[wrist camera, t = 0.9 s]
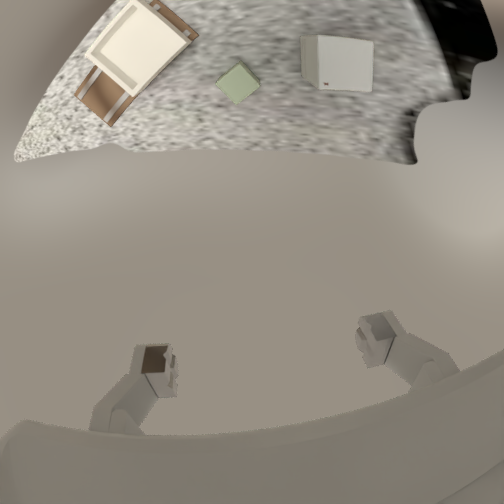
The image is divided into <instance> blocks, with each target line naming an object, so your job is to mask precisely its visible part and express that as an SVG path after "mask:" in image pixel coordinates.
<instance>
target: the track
mask: <svg viewBox="0 0 504 504" xmlns="http://www.w3.org/2000/svg"><path fill="white" fill-rule="evenodd" d="M149 5H150V6H151V7H153V8H154V9H155V10H156V11H157V12H159V13H160V14H161V15H162V16H163V17H165V18H166V19H167V20H168V21H169V22H170V23H172V24H173V25H174V26H175V27H176V28H177V29H178V30H180V31H181V32H182V33H183V34H184V35H185V36H186V37H187V38H189V39H190V40H191V41H193V40H194V39H195V38H196V37H197V36H199V35H198V34H197V33H196V32H195V31H194V30H193V29H192V28H191V27H189V26H188V25H187V24H186V23H185V22H184V21H183V20H182V19H180V18H179V17H178V16H177V15H176V14H175V13H173V12H172V11H171V10H170V9H169V8H167V7H166V6H165V5H164V4H163V3H161V2H160V1H159V0H153V1H152V2H151V3H150V4H149ZM74 95H75V96H76V97H77V98H78V99H79V100H80V101H81V102H83V103H84V104H85V105H86V106H87V107H88V108H89V109H91V110H92V111H93V112H94V113H95V114H96V115H97V116H99V117H100V118H101V119H102V120H103V121H104V122H105V123H107V124H108V125H109V126H110V127H111V126H112V125H113V124H114V123H115V121H116V120H117V119H118V118H119V117H120V115H121V114H122V113H123V112H124V111H125V109H126V108H127V107H128V106H129V105H130V103H131V102H132V101H133V100H134V99H135V98H136V97H137V96H138V94H137V95H136V96H134V97H132V96H131V95H130V94H129V93H127V92H126V91H125V90H124V89H123V88H122V87H121V86H120V85H118V84H117V83H116V82H115V81H114V80H113V79H111V78H110V77H109V76H108V75H107V74H106V73H105V72H103V71H102V70H101V69H100V68H99V67H98V66H96V65H95V66H94V67H93V69H92V70H91V71H90V73H89V74H88V75H87V77H86V78H85V79H84V81H83V82H82V84H81V85H80V87H79V88H78V89H77V91H76V92H75V94H74Z"/></svg>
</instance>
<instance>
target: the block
mask: <svg viewBox="0 0 504 504" xmlns="http://www.w3.org/2000/svg"><path fill="white" fill-rule="evenodd" d="M215 84H216V85H217V86H218V87H219V88H220V89H221V90H222V91H223V92H224V93H225V94H226V95H227V96H228V97H229V98H230V99H231V101H232V102H233V103H234V104H235V105H237V104H239V103H240V102H241V101H242V100H244V99H245V98H246V97H247V96H249V95H250V94H251V93H253V92H254V91H255V90H256V89H258V88H259V87H260V81H259V79H258V78H257V77H256V76H255V75H254V74H253V73H252V72H251V71H250V70H249V69H248V68H247V67H246V66H245V64H244V63H243V62H242V61H239V62H238V63H237V64H236V65H234V66H233V67H232V68H231V69H229V70H228V71H227V72H226V73H224V74H223V75H222V76H221V77H220V78H219V79H218V80H217V82H216V83H215Z"/></svg>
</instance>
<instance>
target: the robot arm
mask: <svg viewBox="0 0 504 504" xmlns="http://www.w3.org/2000/svg"><path fill="white" fill-rule="evenodd" d="M358 324H359V326H360V327H359V328H358V329H357V331H356V344H357V347H358V349H359V350H360V351H361V352H363V353H364V354H363V359H364V361H365V364H366V365H367V368H371V367H375V366H379V365H383V364H384V365H385V366H386V367H387V368H389V369H390V370H392V371H393V372H394V373H395V374H397V375H398V376H400V377H401V378H402V379H404V380H405V381H406V382H408V383H409V384H410V385H411V386H412V387H411V388H410V390H409V392H408V393H407V394H404V395H402V396H399V397H396V398H393V399H390V400H387V401H384V402H381V403H377V404H374V405H371V406H367V407H364V408H361V409H357V410H354V411H350V412H346V413H342V414H338V415H334V416H330V417H325V418H321V419H316V420H312V421H307V422H302V423H297V424H291V425H285V426H279V427H273V428H266V429H258V430H250V431H241V432H231V433H219V434H205V435H204V434H202V435H145V434H144V432H143V431H142V430H141V429H140V428H139V426H140V425H141V423H142V422H143V420H144V419H145V418H146V416H147V415H148V413H149V412H150V410H151V409H152V407H153V406H154V404H155V403H156V402H157V400H158V398H169V397H177V386H178V385H177V383H176V380H175V379H176V378H177V377H178V363H177V360H176V357H175V355H173V354H172V350H173V349H172V346H171V344H169V343H165V344H142V345H136V346H135V348H134V352H133V357H132V361H131V366H130V371H129V374H125V375H124V377H122V378H121V379H120V381H119V382H118V383H117V384H116V385H115V386H114V387H113V388H112V389H111V390H110V391H109V392H108V393H107V394H106V395H105V396H104V397H103V398H102V399H101V400H100V401H99V402H98V403H97V404H96V405H95V407H94V408H93V412H92V417H91V421H90V426H89V430H81V429H74V428H68V427H62V426H56V425H51V424H46V423H41V422H37V421H32V420H27V419H26V420H25V419H24V420H21V421H20V422H18V423H17V424H16V425H14V426H13V427H12V428H11V429H9V430H8V431H7V432H6V433H5V434H4V435H3V436H2V437H1V438H0V504H504V349H503V350H501V351H499V352H497V353H495V354H494V355H492V356H490V357H488V358H486V359H484V360H482V361H481V362H479V363H477V364H475V365H473V366H471V367H469V368H466V369H465V370H462V371H460V370H459V368H458V367H457V365H456V364H455V362H454V361H453V359H452V358H451V356H450V355H449V353H447V352H445V351H443V350H441V349H439V348H438V347H435V346H434V345H432V344H430V343H428V342H426V341H424V340H422V339H420V338H418V337H417V336H415V335H413V334H411V333H408V334H407V333H406V331H405V330H404V328H403V327H402V325H401V324H400V322H399V321H398V319H397V318H396V316H395V315H394V313H393V312H392V311H391V310H388V311H384V312H380V313H375V314H371V315H366V316H362V317H360V318H359V322H358Z"/></svg>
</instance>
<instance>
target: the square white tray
mask: <svg viewBox="0 0 504 504" xmlns="http://www.w3.org/2000/svg"><path fill="white" fill-rule="evenodd" d="M191 42H192V41H191V40H190V39H189V38H187V37H186V36H185V35H184V34H183V33H182V32H181V31H180V30H178V29H177V28H176V27H175V26H174V25H173V24H172V23H170V22H169V21H168V20H167V19H166V18H165V17H163V16H162V15H161V14H160V13H159V12H157V11H156V10H155V9H154V8H153V7H151V6H150V5H149V4H148V3H146V2H145V1H144V0H130V1H129V3H128V4H127V5H126V6H125V7H124V8H123V9H122V10H121V11H120V12H119V13H118V14H117V15H116V16H115V18H114V19H113V20H112V21H111V22H110V23H109V24H108V26H107V27H106V28H105V29H104V30H103V31H102V33H101V34H100V35H99V36H98V38H97V39H96V40H95V41H94V43H93V44H92V45H91V46H90V48H89V49H88V50H87V52H86V53H85V54H84V55H85V56H86V57H87V58H88V59H89V60H91V61H92V62H93V63H94V64H95V65H96V66H98V67H99V68H100V69H101V70H102V71H103V72H105V73H106V74H107V75H108V76H109V77H110V78H111V79H113V80H114V81H115V82H116V83H117V84H118V85H120V86H121V87H122V88H123V89H124V90H125V91H126V92H127V93H129V94H130V95H131V96H132V97H134V96H136V95H137V94H139V93H140V92H142V91H143V90H144V89H145V88H146V86H147V85H148V84H149V83H150V82H151V81H152V80H153V79H154V78H155V77H156V76H157V75H158V74H159V73H160V72H161V71H162V70H163V69H164V68H165V67H166V66H167V65H168V64H169V63H170V62H171V61H172V60H173V59H174V58H175V57H176V56H177V55H178V54H179V53H180V52H182V51H183V50H184V49H185V48H186V47H187V46H188V45H189V44H190V43H191Z"/></svg>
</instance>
